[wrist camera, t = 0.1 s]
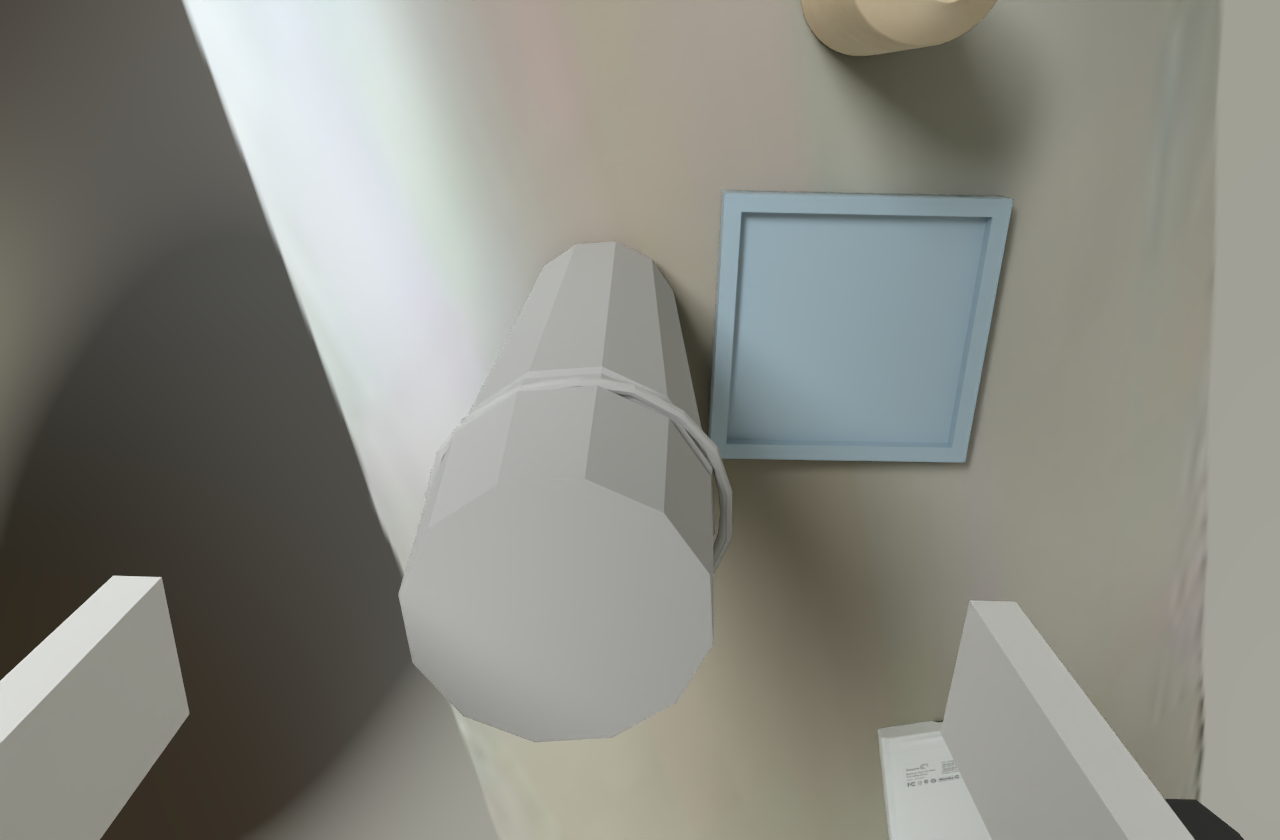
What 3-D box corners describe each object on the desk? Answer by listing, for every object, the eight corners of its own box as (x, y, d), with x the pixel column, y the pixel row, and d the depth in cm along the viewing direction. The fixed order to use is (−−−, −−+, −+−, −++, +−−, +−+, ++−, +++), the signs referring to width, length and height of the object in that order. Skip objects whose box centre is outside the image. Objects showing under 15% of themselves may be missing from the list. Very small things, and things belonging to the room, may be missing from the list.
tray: (722, 190, 38) (724, 193, 37) (1002, 196, 38) (1013, 199, 37) (707, 448, 43) (709, 458, 42) (956, 452, 43) (965, 462, 42)
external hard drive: (889, 867, 55) (874, 721, 50) (1014, 849, 54) (1009, 700, 50) (897, 889, 53) (881, 741, 49) (1025, 871, 53) (1021, 719, 48)
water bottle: (498, 266, 39) (303, 521, 16) (655, 211, 38) (690, 397, 15) (567, 435, 42) (488, 850, 19) (713, 388, 42) (816, 764, 18)
